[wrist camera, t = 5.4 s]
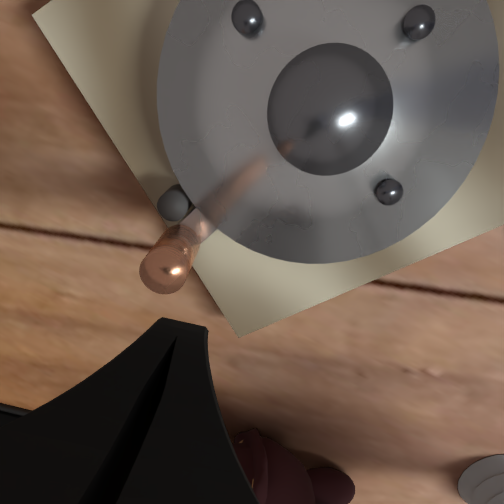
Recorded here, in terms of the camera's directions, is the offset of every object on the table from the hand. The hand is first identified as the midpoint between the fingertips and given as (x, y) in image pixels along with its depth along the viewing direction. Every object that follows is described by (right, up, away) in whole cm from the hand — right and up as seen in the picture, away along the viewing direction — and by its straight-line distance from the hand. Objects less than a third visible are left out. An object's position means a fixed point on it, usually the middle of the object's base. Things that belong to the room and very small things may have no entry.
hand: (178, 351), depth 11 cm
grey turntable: (+4, +8, +4) cm, 9 cm away
